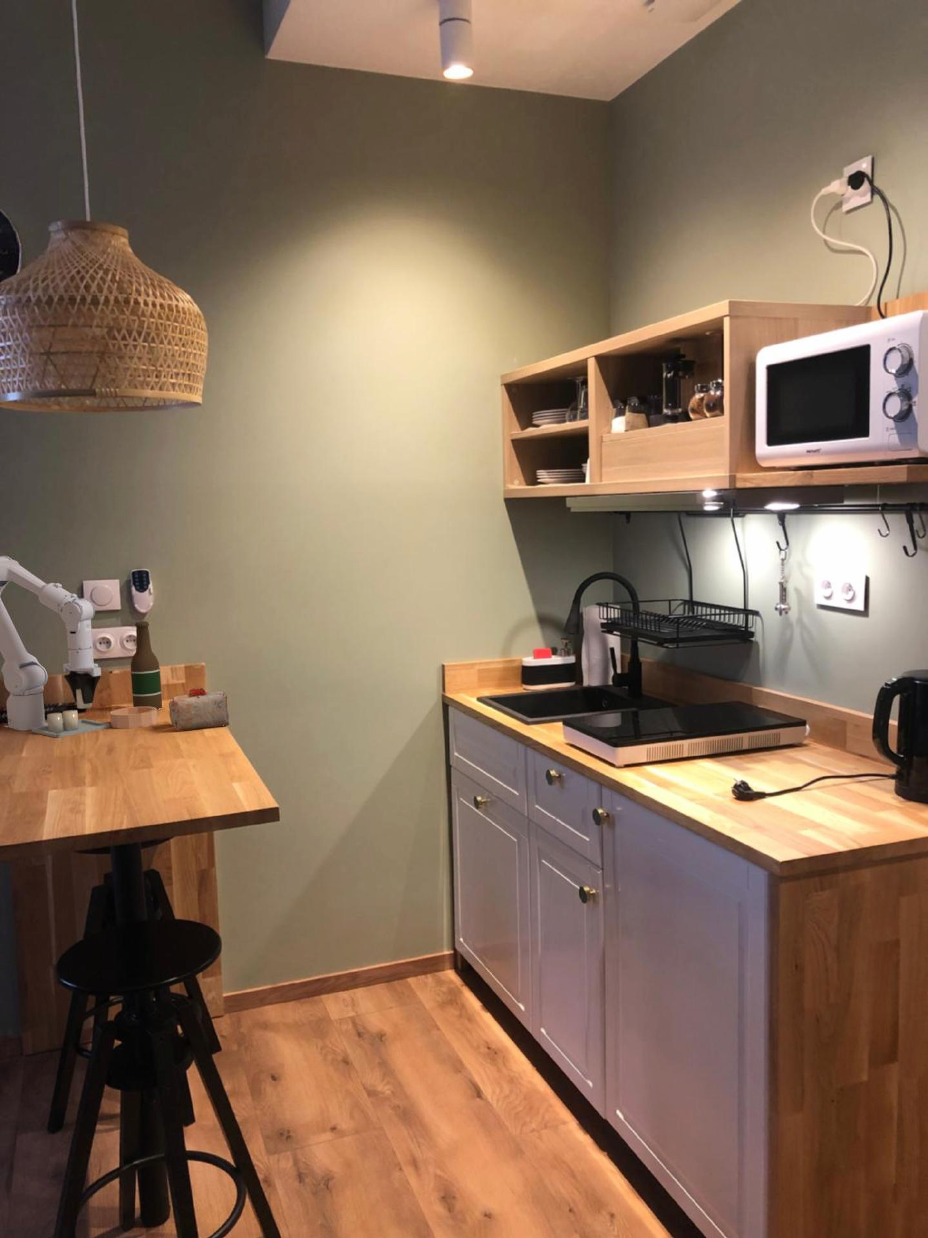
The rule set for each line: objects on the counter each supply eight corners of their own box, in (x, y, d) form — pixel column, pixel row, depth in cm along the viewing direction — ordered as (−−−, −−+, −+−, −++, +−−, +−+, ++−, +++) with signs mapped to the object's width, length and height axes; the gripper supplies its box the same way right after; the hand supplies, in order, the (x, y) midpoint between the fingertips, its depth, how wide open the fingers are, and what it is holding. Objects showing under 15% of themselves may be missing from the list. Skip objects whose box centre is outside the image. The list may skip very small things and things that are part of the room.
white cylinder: (45, 733, 252) (44, 714, 252) (59, 730, 255) (57, 712, 254) (52, 734, 250) (51, 716, 249) (66, 731, 252) (64, 713, 252)
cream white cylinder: (74, 707, 258) (73, 689, 257) (87, 705, 260) (86, 687, 260) (81, 709, 255) (80, 690, 255) (94, 706, 258) (93, 688, 258)
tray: (31, 733, 254) (30, 729, 254) (84, 723, 265) (83, 718, 265) (57, 739, 246) (57, 734, 246) (111, 729, 256) (111, 724, 256)
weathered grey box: (173, 733, 249) (170, 693, 248) (169, 727, 256) (166, 688, 255) (230, 727, 254) (228, 687, 253) (225, 721, 261) (222, 682, 260)
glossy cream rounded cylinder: (61, 729, 255) (59, 711, 255) (74, 727, 258) (72, 709, 257) (68, 731, 253) (66, 713, 252) (81, 728, 255) (79, 710, 255)
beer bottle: (158, 712, 277) (152, 622, 274) (129, 713, 277) (122, 624, 274) (166, 706, 284) (160, 619, 282) (137, 707, 284) (131, 620, 282)
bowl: (102, 727, 259) (101, 712, 259) (141, 719, 267) (140, 705, 267) (127, 732, 252) (125, 716, 251) (166, 724, 260) (165, 709, 260)
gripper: (110, 648, 255) (114, 702, 256) (80, 644, 264) (83, 697, 265) (84, 651, 249) (88, 707, 251) (53, 647, 259) (57, 701, 260)
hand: (84, 702), depth 258 cm, fingers closed on cream white cylinder, 3 cm apart
